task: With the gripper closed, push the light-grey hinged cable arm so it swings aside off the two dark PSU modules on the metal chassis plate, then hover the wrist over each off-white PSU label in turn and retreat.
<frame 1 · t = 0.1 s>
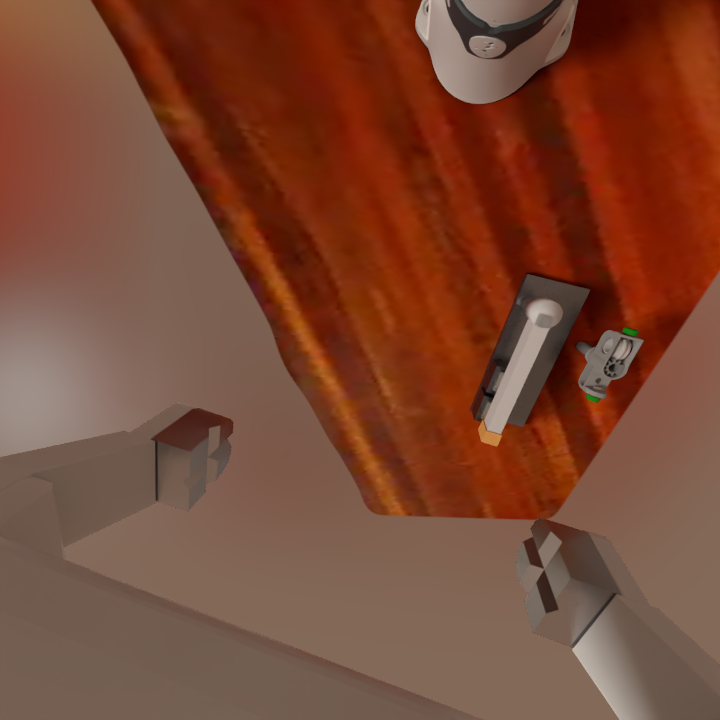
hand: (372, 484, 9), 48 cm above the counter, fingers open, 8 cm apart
cable arm: (515, 374, 48), point 7 cm above the counter, hinge at 0.0°
psu a: (498, 371, 55), resting on chassis
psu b: (486, 398, 57), resting on chassis
chassis: (523, 354, 54), on the counter
mechanical component: (581, 345, 52), on the counter
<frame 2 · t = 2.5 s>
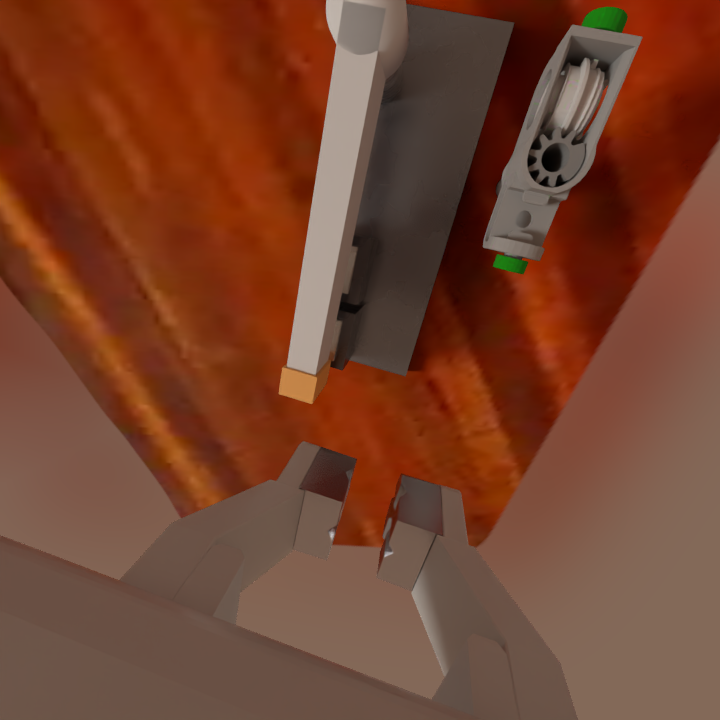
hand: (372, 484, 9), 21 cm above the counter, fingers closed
cable arm: (333, 225, 20), point 7 cm above the counter, hinge at 0.0°
psu a: (351, 262, 28), resting on chassis
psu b: (338, 322, 30), resting on chassis
chassis: (392, 218, 26), on the counter
mechanical component: (507, 188, 24), on the counter
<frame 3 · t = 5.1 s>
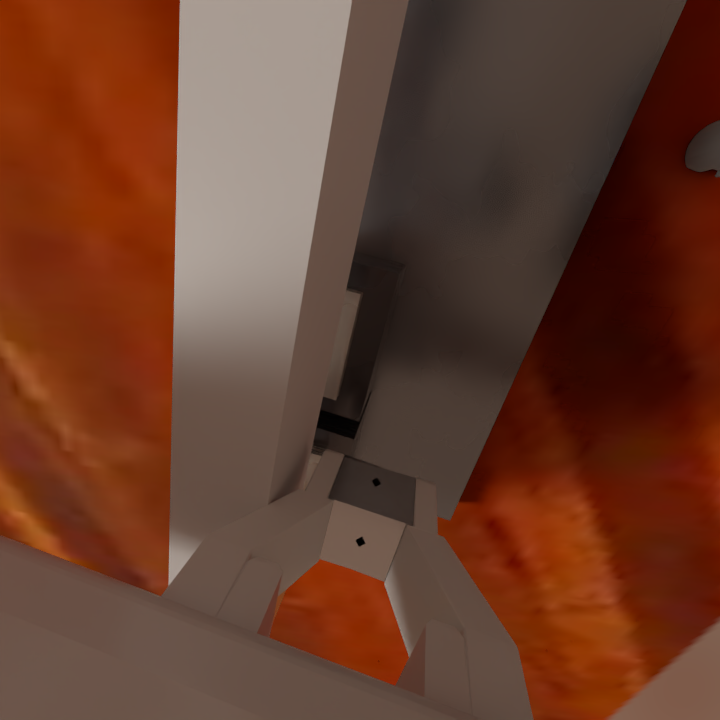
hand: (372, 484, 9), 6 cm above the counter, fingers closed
cable arm: (284, 241, 6), point 7 cm above the counter, hinge at 0.0°, touching gripper
psu a: (347, 306, 14), resting on chassis
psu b: (323, 412, 16), resting on chassis
chassis: (434, 219, 12), on the counter
mechanical component: (711, 151, 10), on the counter
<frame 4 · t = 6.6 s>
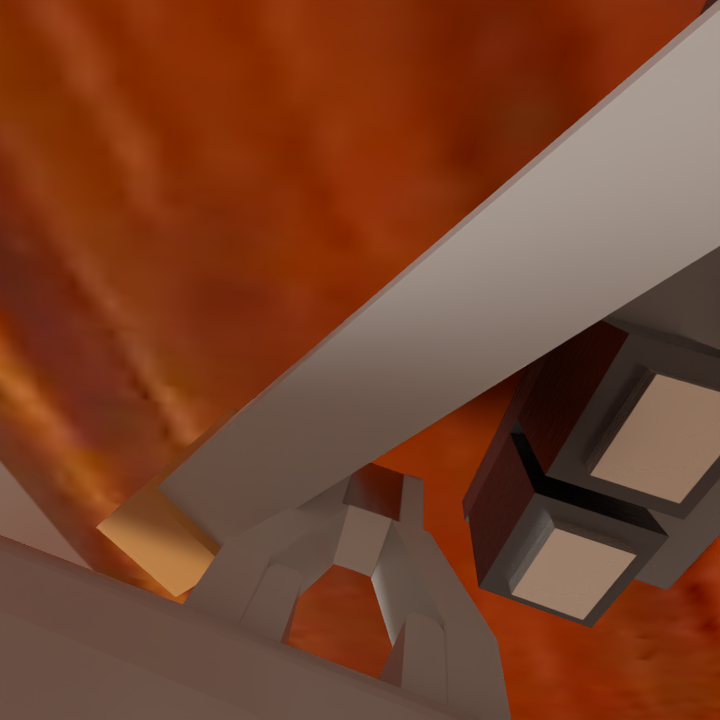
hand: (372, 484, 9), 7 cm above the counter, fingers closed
cable arm: (588, 202, 5), point 7 cm above the counter, hinge at -34.3°, touching gripper
psu a: (584, 370, 13), resting on chassis
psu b: (526, 472, 15), resting on chassis
chassis: (715, 289, 11), on the counter
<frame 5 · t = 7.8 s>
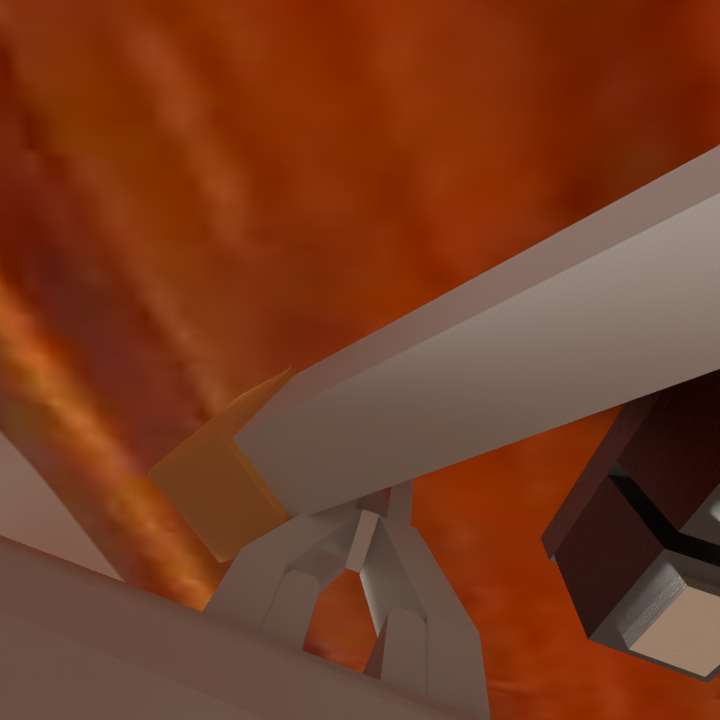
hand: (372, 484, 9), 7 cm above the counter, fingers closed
psu a: (683, 411, 13), resting on chassis
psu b: (612, 511, 15), resting on chassis
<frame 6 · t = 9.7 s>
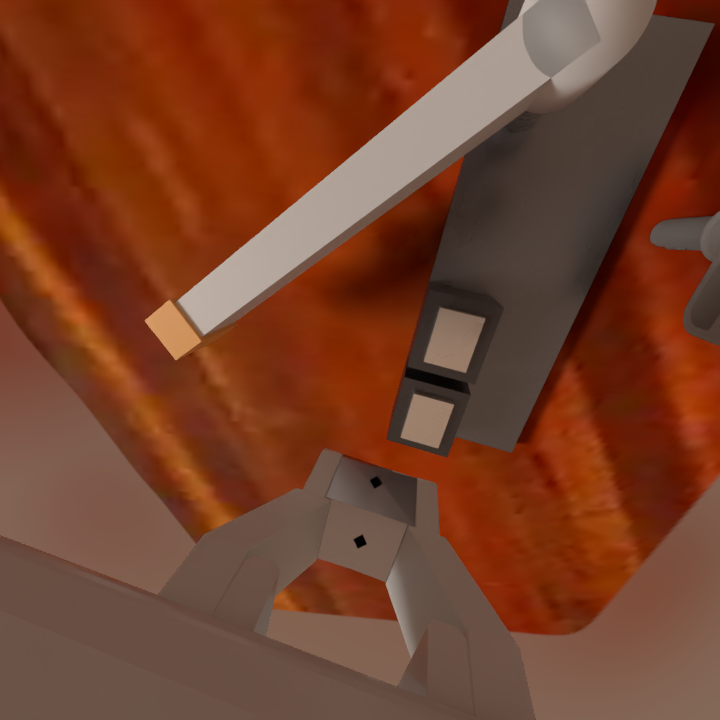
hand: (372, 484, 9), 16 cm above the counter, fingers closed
cable arm: (346, 206, 14), point 7 cm above the counter, hinge at -44.6°
psu a: (448, 319, 23), resting on chassis
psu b: (426, 387, 25), resting on chassis
chassis: (507, 269, 21), on the counter
mechanical component: (664, 233, 19), on the counter
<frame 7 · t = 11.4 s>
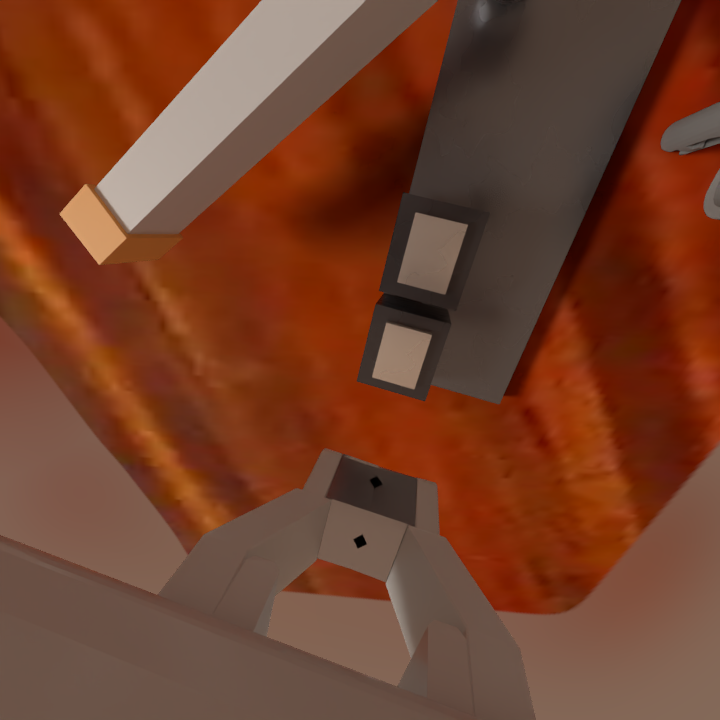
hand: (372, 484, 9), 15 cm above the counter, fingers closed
cable arm: (295, 60, 12), point 7 cm above the counter, hinge at -44.6°
psu a: (430, 250, 20), resting on chassis
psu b: (406, 331, 22), resting on chassis
chassis: (496, 186, 18), on the counter
mechanical component: (677, 138, 16), on the counter
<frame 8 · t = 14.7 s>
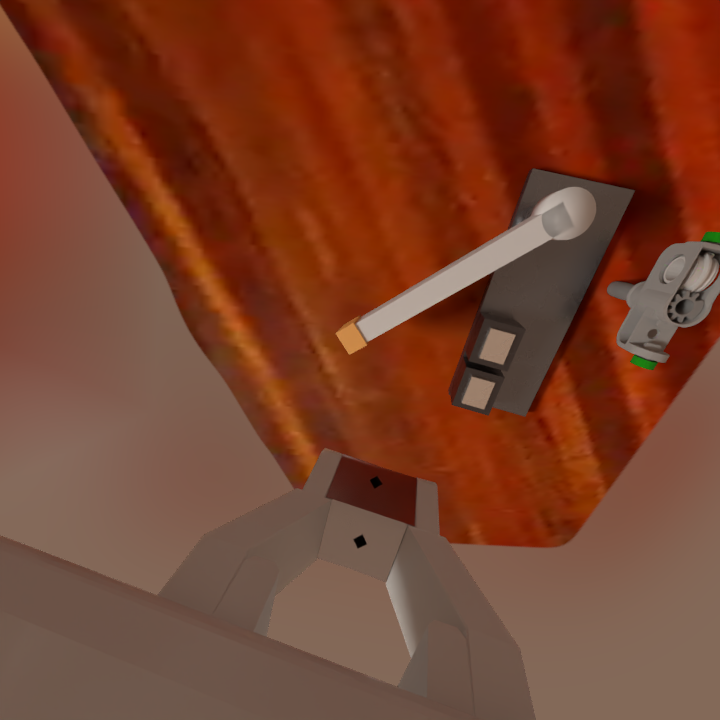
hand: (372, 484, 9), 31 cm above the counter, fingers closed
cable arm: (450, 279, 29), point 7 cm above the counter, hinge at -44.6°
psu a: (488, 333, 37), resting on chassis
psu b: (472, 375, 39), resting on chassis
chassis: (525, 304, 35), on the counter
mechanical component: (615, 288, 34), on the counter
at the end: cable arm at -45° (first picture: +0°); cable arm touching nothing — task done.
